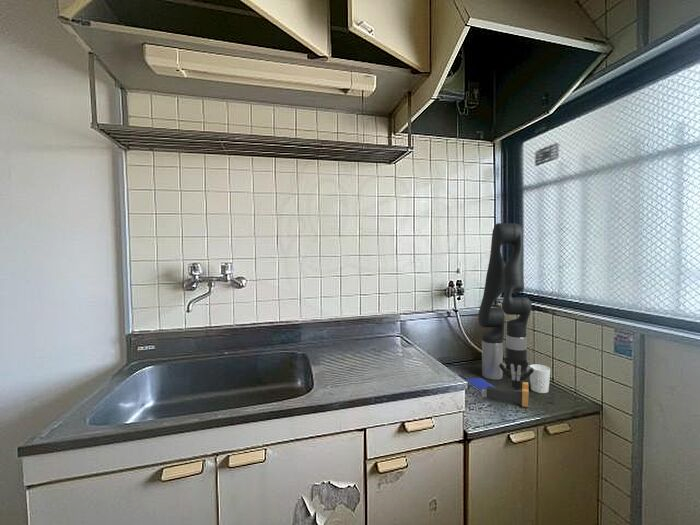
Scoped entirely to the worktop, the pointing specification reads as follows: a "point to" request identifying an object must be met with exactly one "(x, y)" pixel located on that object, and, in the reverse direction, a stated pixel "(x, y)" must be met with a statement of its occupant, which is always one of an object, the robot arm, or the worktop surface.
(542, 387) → the white cup
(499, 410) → the worktop surface
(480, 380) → the hard drive
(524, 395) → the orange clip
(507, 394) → the gray rectangular block
